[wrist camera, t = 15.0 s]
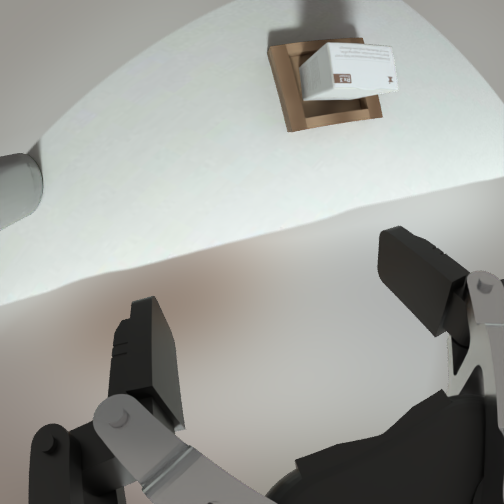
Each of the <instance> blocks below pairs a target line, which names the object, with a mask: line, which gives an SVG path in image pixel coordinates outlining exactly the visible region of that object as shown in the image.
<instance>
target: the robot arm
mask: <svg viewBox="0 0 504 504" xmlns="http://www.w3.org/2000/svg"><path fill="white" fill-rule="evenodd" d="M42 190H43V184H42V177H41V173H40V170H39V167H38V166H37V164H36V162H35V161H34V160H33V159H32V158H31V157H30V156H28V155H26V154H23V153H17V154H12V155H7V156H1V157H0V231H1V230H3V229H4V228H6V227H8V226H10V225H12V224H14V223H15V222H17V221H19V220H21V219H23V218H25V217H27V216H29V215H31V214H32V213H33V212H34V211H35V210H36V208H37V207H38V205H39V203H40V201H41V197H42ZM378 274H379V277H380V279H381V280H382V282H383V283H384V284H385V285H386V286H387V287H388V288H389V289H390V290H391V291H392V292H393V293H394V294H395V295H396V296H397V297H398V298H399V299H400V300H401V301H402V302H403V304H404V305H405V306H406V307H407V308H408V309H409V310H410V311H411V312H412V313H413V314H414V315H415V316H416V317H417V318H418V319H419V320H420V321H421V322H422V323H423V325H424V326H425V327H426V328H427V329H428V330H429V331H430V332H431V333H432V334H433V335H434V337H437V336H439V335H440V334H442V333H444V332H446V331H447V332H448V333H449V336H448V339H447V349H448V376H449V377H448V378H449V379H448V380H449V381H448V388H447V392H446V394H445V392H444V391H443V390H442V389H441V390H440V391H438V392H437V393H435V394H433V395H432V396H430V397H429V398H427V399H425V400H424V401H422V402H420V403H419V404H417V405H415V406H413V407H412V408H411V409H410V410H409V411H408V412H407V413H406V414H405V415H404V416H402V417H401V418H400V419H399V420H398V421H397V422H396V423H395V424H394V425H393V426H392V427H390V428H389V429H388V430H387V431H386V432H385V433H383V434H381V435H379V436H375V437H371V438H367V439H362V440H357V441H352V442H346V443H341V444H336V445H334V446H331V447H329V448H326V449H324V450H321V451H318V452H316V453H313V454H310V455H308V456H305V457H302V458H299V459H296V460H295V463H296V469H295V470H293V471H292V472H290V473H288V474H287V475H286V476H284V477H283V478H282V479H281V480H279V481H278V482H277V483H276V484H275V485H274V486H273V487H272V488H271V489H270V491H269V492H268V493H267V494H266V495H265V496H263V495H262V494H260V493H258V492H257V491H255V490H254V489H252V488H250V487H249V486H247V485H246V484H244V483H242V482H241V481H240V480H238V479H237V478H235V477H234V476H232V475H231V474H229V473H228V472H226V471H225V470H224V469H222V468H221V467H219V466H218V465H217V464H215V463H214V462H212V461H211V460H210V459H208V458H207V457H206V456H204V455H203V454H202V453H200V452H199V451H198V450H196V449H195V448H194V447H192V446H190V445H189V446H188V445H187V444H185V443H184V442H183V441H182V440H181V439H179V438H178V437H177V436H176V435H175V431H180V430H184V429H185V425H184V417H183V410H182V402H181V394H180V386H179V377H178V368H177V359H176V348H175V342H174V338H173V336H172V332H171V330H170V327H169V325H168V323H167V321H166V319H165V317H164V315H163V313H162V310H161V308H160V306H159V303H158V301H157V300H156V298H155V296H151V297H148V298H144V299H140V300H136V301H133V302H132V305H131V314H130V318H129V319H125V320H122V321H121V323H120V324H119V326H118V328H117V329H116V331H115V334H114V341H113V346H114V348H113V349H112V359H111V368H110V379H109V390H108V398H107V399H105V400H104V401H103V402H102V403H100V405H99V406H98V407H97V409H96V411H95V413H94V417H93V420H92V421H91V422H89V423H87V424H85V425H82V426H80V427H78V428H76V429H74V430H71V431H69V432H68V431H67V430H66V429H65V428H64V427H62V426H61V425H58V424H48V425H45V426H43V427H42V428H41V429H39V431H38V432H37V433H36V434H35V436H34V438H33V440H32V444H31V454H30V468H29V504H126V499H125V492H124V486H126V485H128V484H131V483H133V482H135V481H138V482H139V483H140V484H141V486H142V487H143V488H142V491H143V492H144V494H145V495H146V496H147V497H148V498H149V499H150V501H151V502H152V503H154V504H504V279H502V280H499V278H498V277H496V276H495V275H493V274H491V273H489V272H486V271H474V272H472V273H470V272H468V271H467V270H466V269H465V268H464V267H462V266H461V265H460V264H458V263H457V262H456V261H454V260H453V259H452V258H450V257H449V256H448V255H446V254H444V253H443V252H442V251H441V250H440V249H438V248H436V246H434V245H433V244H431V243H430V242H429V241H427V240H426V239H423V238H420V237H417V236H415V235H413V234H412V233H410V232H409V231H408V230H406V229H405V228H403V227H402V226H397V227H393V228H390V229H387V230H384V231H382V232H381V233H380V236H379V252H378Z"/></svg>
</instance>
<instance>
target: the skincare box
mask: <svg viewBox="0 0 504 504" xmlns="http://www.w3.org/2000/svg"><path fill="white" fill-rule="evenodd" d="M299 73H300V80H301V89H302V99H303V100H304V101H308V100H352V99H357V98H362V97H367V96H372V95H377V94H383V93H390V92H395V91H398V90H399V88H398V80H397V74H396V67H395V61H394V56H393V52H392V47H391V46H382V45H371V44H358V43H331V42H327V43H326V44H325V45H324V46H322V47H321V48H320V49H319V50H318V51H317V52H316V53H314V54H313V55H312V56H311V57H310V58H309V59H308V60H307V61H306V62H304V63H303V64H302V65H301V66H300V67H299Z"/></svg>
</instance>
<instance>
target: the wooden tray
mask: <svg viewBox="0 0 504 504" xmlns="http://www.w3.org/2000/svg"><path fill="white" fill-rule="evenodd" d="M327 42H331V43H358V44H364V41H363V38H343V39H328V40H316V41H307V42H298V43H291V44H283V45H277V46H271V47H270V48H269V50H268V52H267V55H268V59H269V62H270V66H271V69H272V73H273V77H274V80H275V84H276V88H277V92H278V95H279V99H280V103H281V107H282V111H283V115H284V119H285V123H286V127H287V131H288V132H295V131H300V130H305V129H310V128H316V127H321V126H327V125H333V124H339V123H345V122H352V121H359V120H366V119H374V118H382V117H383V116H382V111H381V106H380V102H379V97H378V94H377V95H372V96H367V97H362V98H357V99H352V100H308V101H304V100H303V99H302V89H301V80H300V73H299V67H300V66H301V65H302V64H303V63H304V62H306V61H307V60H308V59H309V58H310V57H311V56H312V55H313V54H314V53H316V52H317V51H318V50H319V49H320V48H321V47H322V46H324V45H325V44H326V43H327Z"/></svg>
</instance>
